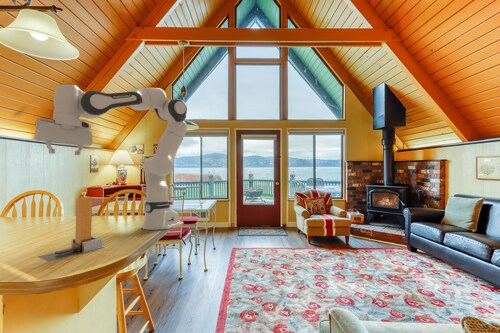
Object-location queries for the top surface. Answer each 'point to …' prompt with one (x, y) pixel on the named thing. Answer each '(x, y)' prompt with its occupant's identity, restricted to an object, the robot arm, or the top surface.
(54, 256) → the rail plate
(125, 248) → the top surface
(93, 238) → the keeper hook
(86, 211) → the orange upright panel
